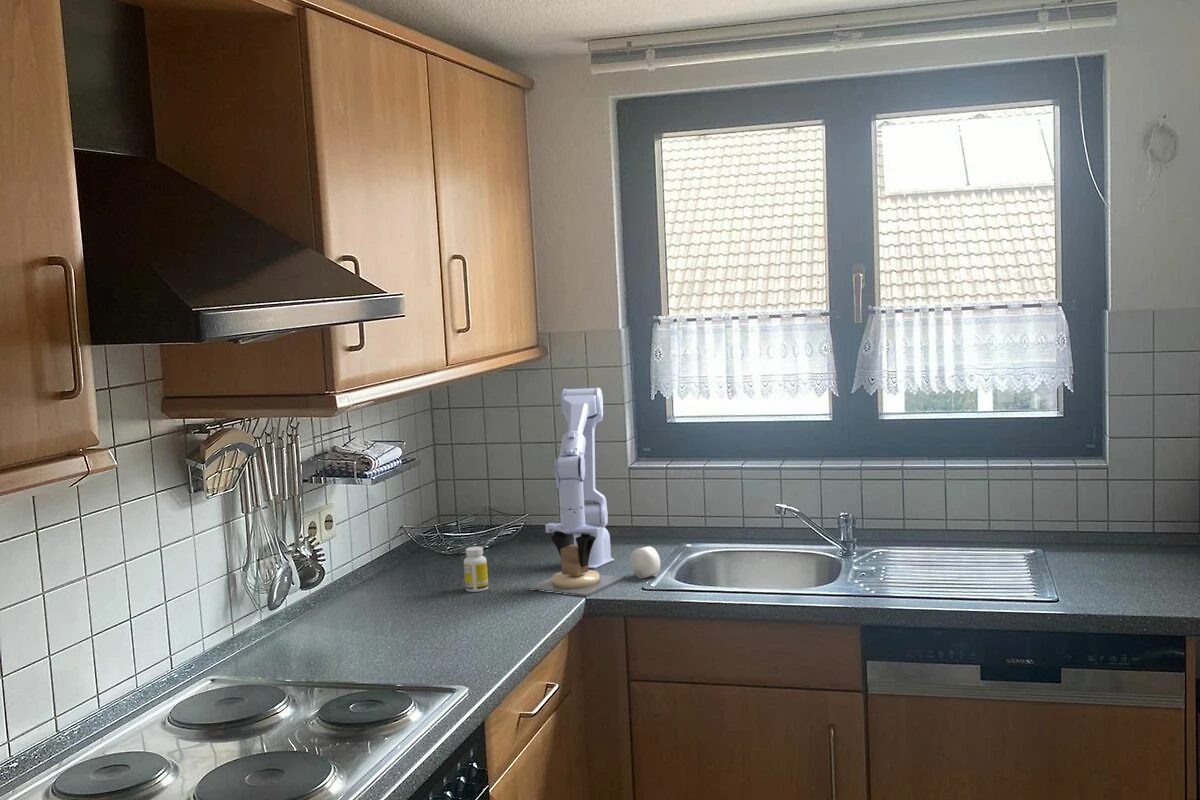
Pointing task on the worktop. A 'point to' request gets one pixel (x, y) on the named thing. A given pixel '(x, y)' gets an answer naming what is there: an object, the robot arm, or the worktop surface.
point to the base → (581, 590)
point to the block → (571, 561)
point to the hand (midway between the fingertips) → (575, 564)
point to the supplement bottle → (475, 570)
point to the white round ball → (645, 562)
